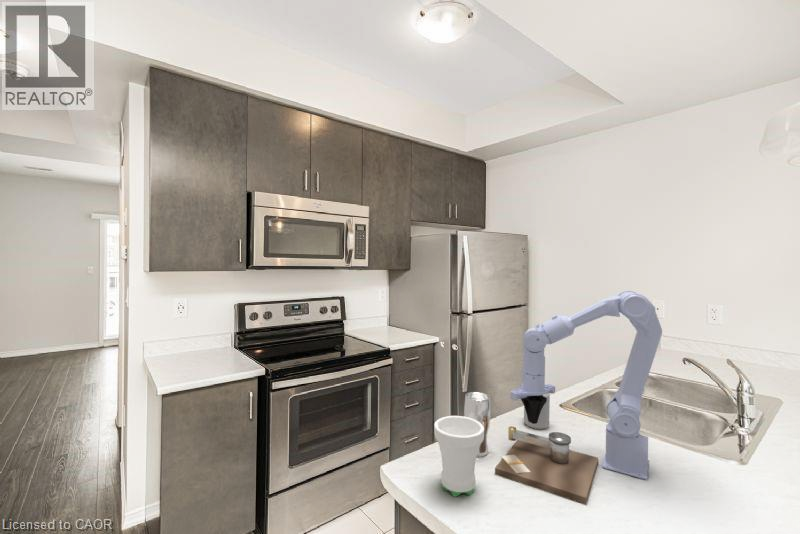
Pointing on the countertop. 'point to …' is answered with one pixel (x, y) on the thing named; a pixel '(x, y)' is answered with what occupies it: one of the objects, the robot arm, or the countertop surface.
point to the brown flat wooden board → (549, 470)
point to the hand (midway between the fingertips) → (532, 422)
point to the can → (540, 416)
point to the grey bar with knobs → (545, 443)
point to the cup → (458, 451)
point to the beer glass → (479, 414)
